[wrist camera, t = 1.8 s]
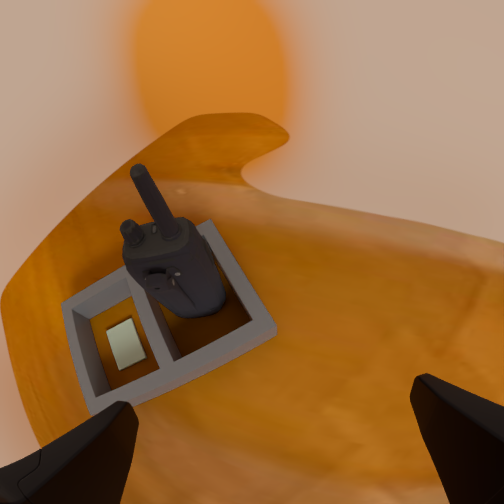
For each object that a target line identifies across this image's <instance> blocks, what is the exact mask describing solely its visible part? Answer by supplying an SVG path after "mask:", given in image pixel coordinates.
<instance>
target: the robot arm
mask: <svg viewBox="0 0 504 504" xmlns="http://www.w3.org/2000/svg"><path fill="white" fill-rule="evenodd" d="M410 402H411V405H412V408H413V410H414V413H415V416H416V419H417V423H418V426H419V429H420V432H421V435H422V437H423V440H424V442H425V444H426V447H427V449H428V451H429V453H430V456H431V458H432V460H433V463H434V465H435V467H436V470H437V472H438V475H439V477H440V480H441V482H442V485H443V487H444V490H445V492H446V495H447V498H448V500H449V503H450V504H504V407H503V406H501V405H499V404H496V403H494V402H492V401H489V400H487V399H484V398H482V397H480V396H477V395H475V394H473V393H471V392H468V391H466V390H464V389H461V388H459V387H457V386H455V385H452V384H450V383H448V382H446V381H444V380H441V379H439V378H437V377H435V376H433V375H430V374H428V373H425V374H422V375H419V376H416V378H415V379H414V383H413V386H412V390H411V393H410ZM138 426H139V421H138V417H137V415H136V413H135V411H134V409H133V407H132V405H131V404H130V403H129V402H127V401H120V400H119V401H116V402H114V403H113V404H111V405H110V406H108V407H107V408H105V409H104V410H102V411H101V412H99V413H98V414H96V415H95V416H93V417H91V418H90V419H88V420H87V421H85V422H84V423H82V424H80V425H79V426H77V427H76V428H74V429H72V430H71V431H69V432H68V433H66V434H64V435H63V436H61V437H59V438H58V439H56V440H54V441H53V442H51V443H49V444H48V445H46V446H44V447H43V448H42V449H39V450H38V451H36V452H34V453H32V454H31V455H28V456H27V457H25V458H23V459H21V460H18V461H16V462H14V463H12V464H10V465H7V466H4V467H2V468H0V504H120V501H121V497H122V494H123V490H124V487H125V483H126V480H127V476H128V473H129V470H130V466H131V463H132V458H133V453H134V447H135V442H136V436H137V431H138Z"/></svg>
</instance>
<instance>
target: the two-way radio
mask: <svg viewBox="0 0 504 504" xmlns="http://www.w3.org/2000/svg"><path fill="white" fill-rule="evenodd" d="M130 176H131V178H132V180H133V182H134V184H135V186H136V188H137V190H138V192H139V194H140V196H141V198H142V200H143V201H144V203H145V205H146V207H147V209H148V211H149V212H150V214H151V216H152V218H153V219H154V221H155V222H151V223H147V224H143V225H140V226H139V225H138V224H137V223H136V222H135V221H133V220H131V219H129V220H125V221H124V222H123V223H122V224H121V226H120V231H121V234H122V236H123V238H124V244H123V254H122V257H123V260H124V263H125V266H126V270H127V271H128V273H129V274H130V275H131V277H132V278H133V279H134V280H135V281H136V282H137V283H138V284H139V285H140V286H141V287H142V288H143V289H144V290H145V291H147V292H148V293H149V294H150V295H151V296H152V297H154V298H155V299H156V300H157V301H159V302H160V303H161V304H162V305H164V306H165V307H166V308H168V309H169V310H170V311H171V312H173V313H174V314H175V315H177V316H179V317H182V318H197V317H203V316H208V315H212V314H214V313H217V312H218V311H219V310H220V309H221V308H222V305H223V303H224V302H225V300H226V292H225V289H224V286H223V283H222V281H221V278H220V275H219V272H218V270H217V268H216V266H215V263H214V258H213V256H212V253H211V251H210V249H209V247H208V245H207V243H206V241H205V239H204V238H203V237H202V236H201V235H200V233H199V232H198V230H197V229H196V227H195V226H194V224H193V223H192V222H191V221H189V220H188V219H186V218H184V217H178V218H174V217H173V215H172V213H171V211H170V210H169V208H168V206H167V204H166V202H165V200H164V199H163V197H162V195H161V193H160V192H159V190H158V188H157V186H156V185H155V183H154V181H153V179H152V178H151V176H150V174H149V172H148V171H147V169H146V167H145V166H144V165H142V164H136V165H134V166H133V167H132V168H131V170H130Z"/></svg>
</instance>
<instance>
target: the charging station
mask: <svg viewBox="0 0 504 504" xmlns="http://www.w3.org/2000/svg"><path fill="white" fill-rule="evenodd" d="M196 229H197V230H198V232H199V233H200V235H201V236H202V237H203V238H204V239H205V241H206V243H207V245H208V247H209V249H210V251H211V253H212V254H213V256H214V258H215V260H216V262H217V263H218V265H219V267H220V269H221V270H222V272H223V274H224V276H225V277H226V279H227V281H228V282H229V284H230V286H231V288H232V289H233V291H234V293H235V295H236V296H237V298H238V300H239V301H240V303H241V305H242V306H243V308H244V310H245V311H246V313H247V315H248V317H249V318H250V320H251V321H250V322H249V323H247V324H245V325H243V326H241V327H240V328H238V329H236V330H234V331H232V332H230V333H229V334H227V335H225V336H223V337H221V338H219V339H217V340H216V341H214V342H212V343H210V344H208V345H206V346H204V347H202V348H200V349H198V350H196V351H194V352H193V353H191V354H189V355H187V356H185V357H183V358H182V356H181V354H180V352H179V350H178V347H177V345H176V343H175V341H174V339H173V336H172V334H171V332H170V330H169V327H168V325H167V323H166V320H165V318H164V316H163V313H162V311H161V308H160V306H159V303H158V301H157V300H156V299H155V298H154V297H152V296H151V295H150V294H149V293H148V292H147V291H145V290H144V289H143V288H142V287H141V286H140V285H139V284H138V283H137V282H136V281H135V280H134V279H133V278H132V277H131V275H130V274H129V273H128V271H127V270H126V266H125V265H124V266H123V267H121V268H119V269H117V270H116V271H114V272H112V273H111V274H109V275H107V276H105V277H104V278H102V279H100V280H99V281H97V282H95V283H94V284H92V285H90V286H89V287H87V288H85V289H84V290H82V291H80V292H79V293H77V294H75V295H74V296H72V297H71V298H69V299H67V300H66V301H64V302H63V303H61V307H62V312H63V318H64V323H65V328H66V333H67V338H68V342H69V347H70V351H71V355H72V359H73V363H74V366H75V370H76V373H77V377H78V380H79V383H80V387H81V390H82V393H83V396H84V399H85V402H86V404H87V407H88V410H89V413H90V415H94V416H95V415H96V414H98V413H99V412H101V411H102V410H104V409H105V408H107V407H108V406H110V405H111V404H113V403H114V402H116V401H119V400H120V401H127V402H129V403H130V404H131V405H132V407H134V406H136V405H138V404H141V403H143V402H146V401H148V400H150V399H153V398H155V397H157V396H159V395H162V394H164V393H166V392H168V391H170V390H173V389H175V388H177V387H179V386H181V385H183V384H185V383H187V382H190V381H192V380H194V379H196V378H198V377H200V376H202V375H204V374H206V373H208V372H210V371H212V370H214V369H216V368H218V367H220V366H222V365H223V364H225V363H227V362H229V361H231V360H233V359H235V358H237V357H239V356H240V355H242V354H244V353H246V352H248V351H249V350H251V349H253V348H255V347H257V346H258V345H260V344H262V343H264V342H265V341H267V340H269V339H271V338H272V337H274V336H276V335H277V325H276V324H275V322H274V320H273V319H272V317H271V316H270V314H269V313H268V311H267V309H266V308H265V306H264V305H263V303H262V301H261V300H260V298H259V297H258V295H257V293H256V292H255V290H254V289H253V287H252V285H251V284H250V282H249V281H248V279H247V277H246V276H245V274H244V273H243V271H242V269H241V268H240V266H239V265H238V263H237V261H236V260H235V258H234V256H233V255H232V253H231V252H230V250H229V248H228V247H227V245H226V243H225V242H224V240H223V239H222V237H221V235H220V234H219V232H218V230H217V229H216V227H215V225H214V224H213V222H212V220H211V219H209V220H207V221H205V222H203V223H202V224H200V225H198V226H196ZM130 296H132V297H133V300H134V303H135V306H136V309H137V312H138V315H139V317H140V320H141V323H142V326H143V328H144V331H145V333H146V336H147V339H148V341H149V344H150V346H151V348H152V351H153V353H154V356H155V358H156V360H157V363H158V365H159V367H160V369H158V370H156V371H154V372H152V373H150V374H148V375H146V376H143V377H141V378H139V379H137V380H135V381H133V382H130V383H128V384H126V385H124V386H121V387H119V388H117V389H115V390H112V391H111V388H110V386H109V383H108V380H107V377H106V375H105V372H104V369H103V366H102V363H101V359H100V356H99V353H98V350H97V346H96V343H95V339H94V336H93V332H92V328H91V324H90V320H89V319H91V318H93V317H94V316H96V315H98V314H100V313H101V312H103V311H105V310H107V309H109V308H110V307H112V306H114V305H116V304H117V303H119V302H121V301H123V300H125V299H126V298H128V297H130ZM106 333H107V336H108V339H109V342H110V345H111V349H112V352H113V355H114V357H115V360H116V363H117V366H118V369H119V370H120V371H121V370H123V369H125V368H127V367H129V366H132V365H134V364H136V363H138V362H140V361H142V360H144V359H146V358H147V356H146V353H145V351H144V348H143V346H142V343H141V341H140V338H139V335H138V333H137V330H136V327H135V324H134V322H133V319H132V318H130V319H128V320H126V321H124V322H123V323H121V324H119V325H117V326H115V327H113V328H111V329H109V330H108V331H106Z"/></svg>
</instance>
